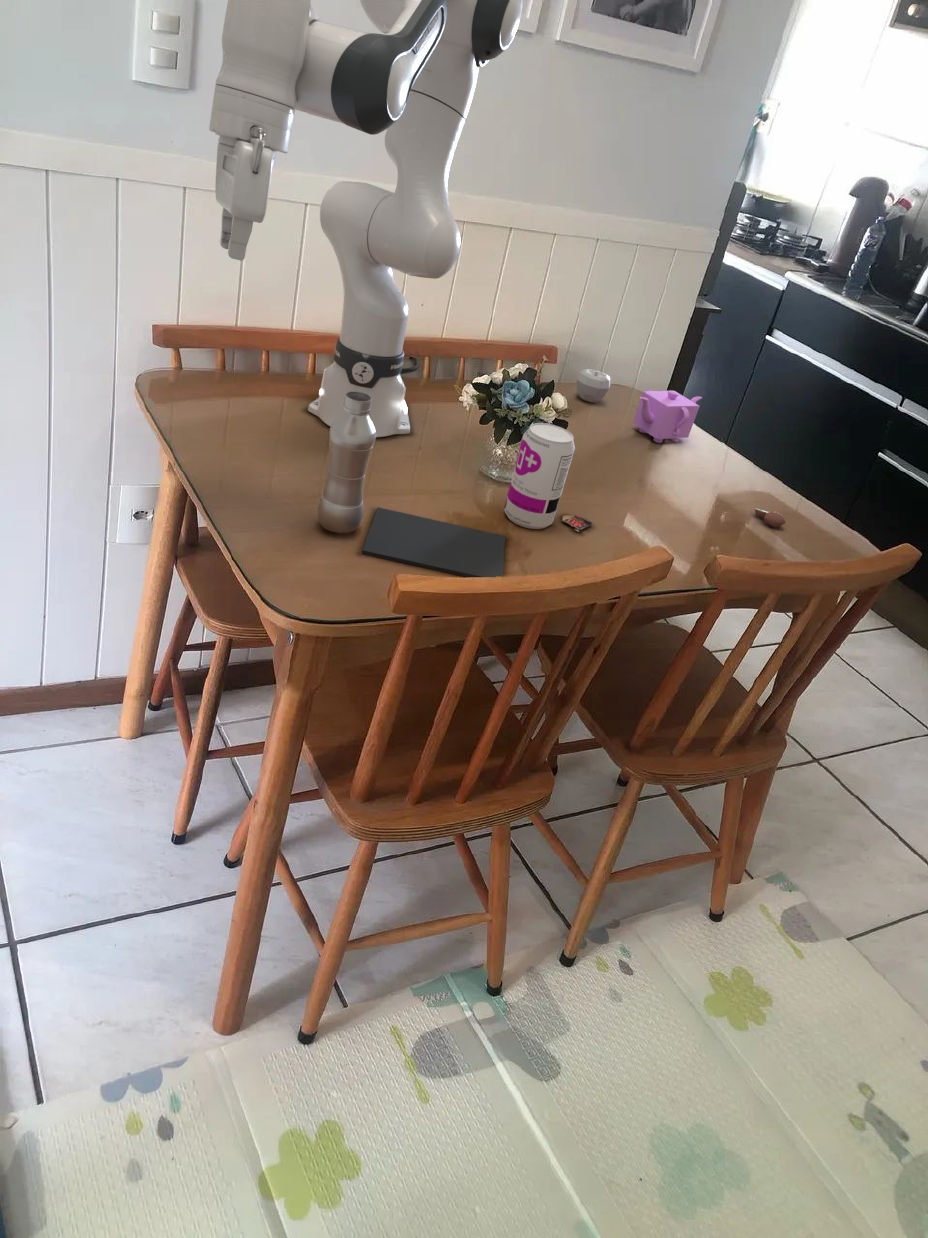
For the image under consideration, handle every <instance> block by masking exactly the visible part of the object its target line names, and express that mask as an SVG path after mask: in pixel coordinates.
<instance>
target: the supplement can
mask: <svg viewBox="0 0 928 1238" xmlns="http://www.w3.org/2000/svg"><path fill="white" fill-rule="evenodd" d="M574 439H575V437H574V435H573V433H571V432H570V431H569V430H567V429H565V428H564V427H561V426H558V425H555V424H551V423H546V422H534V423H531V424H530V425H529V427H528V429H527V430H526V431H525V432H524V433H523V435H522V438H521V442H520V447H519V449H518V453H517V458H516V460H515V465H514V469H513V472H512V476H511V480H510V483H509V487H508V491H507V496H506V499H505V503H504V506H503V510H504V511H503V512H504V513H505V514H506V516H507V518H508V519H509V521H511V522H512V523H514V524H515V525H518V526H520V527H523V528H527V529H531V530H541V529H545V528H547V527H549V526H550V525H552V524H553V523H554V521H555V517H556V514H557V510H558V506H559V504H560V500H561V497H562V493H563V491H564V486H565V483H566V480H567V477H568V473H569V470H570V467H571V463H572V459H573V456H574V454H575V450H576V447H575V442H574Z"/></svg>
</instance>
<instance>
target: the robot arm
mask: <svg viewBox="0 0 928 1238" xmlns="http://www.w3.org/2000/svg"><path fill="white" fill-rule="evenodd" d="M311 1H312V0H227V5H226V10H225V16H224V21H223V27H222V33H221V48H222V62H221V66H220V70H219V72H218V74H217V77H216V79H215V84H214V90H213V91H214V93H213V98H212V106H211V113H210V120H209V126H208V130H209V131H210V132H212V133H214V134H215V135H217V136H219V137H218V140H217V149H216V164H215V165H216V167H215V200H216V203H218V204H219V205H220V206H221V207H222V211H221V232H220V239H219V245H220V246H221V248H223V249H224V250H227V255H228V257H229V258H230V259H233V260H237V261H244V260H245V258H246V254H247V247H248V243H249V241H250V237H251V234H252V231H253V227H254V226H253V225H254V223H259V224H260V223H263V222H264V220H265V216H266V213H267V209H268V201H269V195H270V187H271V182H272V181H271V180H272V174H273V173H272V172H273V167H275V162H276V155H277V152H279V153H282V154H288V153H289V149H290V148H289V147H290V141H291V135H292V130H293V125H294V119H295V112H296V111H299V112H303V113H306V114H308V115H311V116H315V117H318V118H322V119H326V120H329V121H333V122H336V123H340V124H343V125H345V126H347V127H350V128H352V129H355V130H356V131H357V130H358V131H360V132H363V133H365V134H368V135H370V136H371V135H378V134H381V133H383V132H384V131H386V132H385V134H384V147H385V151H386V153H387V155H388V157H389V159H390V160H391V161H392V163H393V164H394V165H395V166H396V170H397V181H396V188H395V190H394V192H393V191H391V190H387V189H384V188H382V187H380V186H376V185H373V184H371V183H368V182H360V181H350V180H349V181H347V180H340V181H338V182H336V183H334V184H333V185H331V186H330V187H329V188H328V190H327V191H326V193H325V194H324V196H323V198H322V201H321V204H320V209H319V223H320V227H321V230H322V232H323V234H324V235H325V237H326V239H327V240H328V241H329V243H330V245H331V247H332V248H333V251H334V254H335V256H336V259H337V263H338V266H339V270H340V275H341V281H342V288H343V302H342V314H341V324H340V332H339V337H338V338H337V339H336V342H335V346H334V356H333V360H334V361H333V362H332V363H331V364H329V365H328V366H327V367H326V368H324V369H323V373H322V378H321V384H320V389H319V392H318V397H317V398H316V399H315V400H313V401H311V402H310V403H309V404H308V406H307V411H308V412H309V413H311V414H312V415H314V416H316V417H318V418H319V419H320V420H321V421H322V422H323V423H324V424H326V425H327V426H328V427H331V425H332V423H333V421H334V420H335V419H336V418H337V417H338V416H339V415H340V414H341V413H342V412H343V411H344V409H343V402H344V398H345V394H346V393H347V392H349V391H358V392H363V393H366V394H368V395H369V396H371V398H372V401H371V412H370V413H369V414H368V416H369V417H370V419H371V421H372V423H373V425H374V428H375V432H376V438H383V437H384V438H385V437H390V436H394V435H408V434H410V432H411V423H410V418H409V413H408V409H409V408H408V406H407V403H406V400H405V396H406V390H407V387H406V386H405V383H404V381H403V378H402V375H401V373H406V372H407V373H408V372H412V371H415V370H416V369H418V367H419V360H418V358H417V357H416V358H413V357H410V356H409V359H413V361H414V366H411V367H404V368H403V365H404V361H405V358H404V357H405V351H404V350H403V349H404V343H405V337H406V331H407V327H408V321H409V315H410V308H409V304H408V301H407V298H406V297H405V295H404V294H403V293H402V292H401V290H400V289H399V287H398V285H397V283H396V281H395V278H394V274H393V270H395V271H398V272H400V273H402V274H405V275H408V276H410V277H418V278H424V279H434V280H436V279H440V278H442V277H444V276H445V275H447V274H448V272H450V271H451V270H452V268H453V267H454V265H455V264H456V263H457V260H458V258H459V255H460V252H461V245H462V244H461V243H462V240H461V239H462V238H461V233H460V229H459V225H458V224H457V222H456V220H455V218H454V216H453V213H452V210H451V207H450V201H449V176H450V170H451V167H452V162H453V160H454V156H455V153H456V149H457V146H458V143H459V141H460V138H461V136H462V135H461V134H462V132H463V130H464V126H465V124H466V121H467V118H468V115H469V112H470V109H471V107H472V102H473V100H474V94H475V92H476V86H477V82H478V78H479V71H480V68H482V67H485V66H486V65H487V64H488V63H489V61H490V60H493V59H496V58H497V57H499V56H500V55H501V54H503V53H504V52H505V51H506V50H507V49H508V48H509V46H511V43H512V42H513V40H514V38H515V35H516V33H517V31H518V28H519V25H520V22H521V17H522V10H523V0H359V1H360V5H361V7H362V10H363V12H364V13H365V15H366V16H367V18H368V19H369V21H370V22H371V23H372V25H373V26H374V27H375V28H376V29H377V30H378V31H380V32H381V33H375V32H369V31H368V32H367V31H364V30H363V31H362V30H358V29H355V28H350V27H346V26H341V25H338V24H333V23H329V22H327V21H322V20H320V19H321V18H320V17H319V15H317V13H316V11H315V10H314V8H313V6H312V4H311Z"/></svg>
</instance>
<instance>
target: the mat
mask: <svg viewBox="0 0 928 1238" xmlns="http://www.w3.org/2000/svg"><path fill="white" fill-rule="evenodd" d="M505 547H506V535H503V534H499V533H494V532H489V531H486V530H481V529H477V528H472V527H467V526H463V525H459V524H454V523H450V522H445V521H441V520H437V519H432V518H428V517H423V516H418V515H414V514H411V513H406V512H401V511H397V510H392V509H388V508H383V507H377V508H376V511H375V513H374V517H373V518H372V523H371V525H370V528H369V531H368V534H367V536H366V539H365V541H364V544H363V547H362V550H361V554H362V555H365V556H366V555H367V556H370V557H375V558H380V559H383V560H389V561H394V562H398V563H403V564H407V565H411V566H415V567H420V568H425V569H429V570H434V571H438V572H443V573H447V574H452V575H456V576H461V577H465V578H469V577H496V576H502V577H503V575H504V574H503V573H504V563H505V562H504V561H505Z"/></svg>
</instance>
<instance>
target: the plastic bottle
mask: <svg viewBox="0 0 928 1238" xmlns="http://www.w3.org/2000/svg"><path fill="white" fill-rule="evenodd" d="M371 401H372V398H371V396H369V395H368V394H366V393H363V392H358V391H349V392H347V393H346V394H345V398H344V402H343V409H344V411H343V412H342V413H341V414H340V415H339V416H338V417H337V418H336V419H335V420H334V421H333V423H332V425H331V427H330V426H329V427H330V428H329V432H328V433H329V434H328V435H329V436H328V437H329V438H328V439H329V440H328V441H329V442H328V445H329V446H328V448H329V449H328V467H327V475H326V479H325V483H324V488H323V491H322V495H321V497H320V499H319V503H318V506H317V520H318V522H319V523H320V525H321V527H322V528H323V529H325V530H327V531H329V532H332V533H336V534H348V533H351V532H354V531H355V530H356V529H357V528H358V527H359V526H360V525H361V522H362V520H363V517H364V491H365V490H364V489H365V480H366V476H367V475H366V474H367V470H368V466H369V461H370V458H371V456H372V452H373V449H374V446H375V443H376V440H377V437H376V432H375V428H374V425H373V423H372V421H371V419H370V417H369V416H368V414H369V413H370V412H371Z"/></svg>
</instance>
